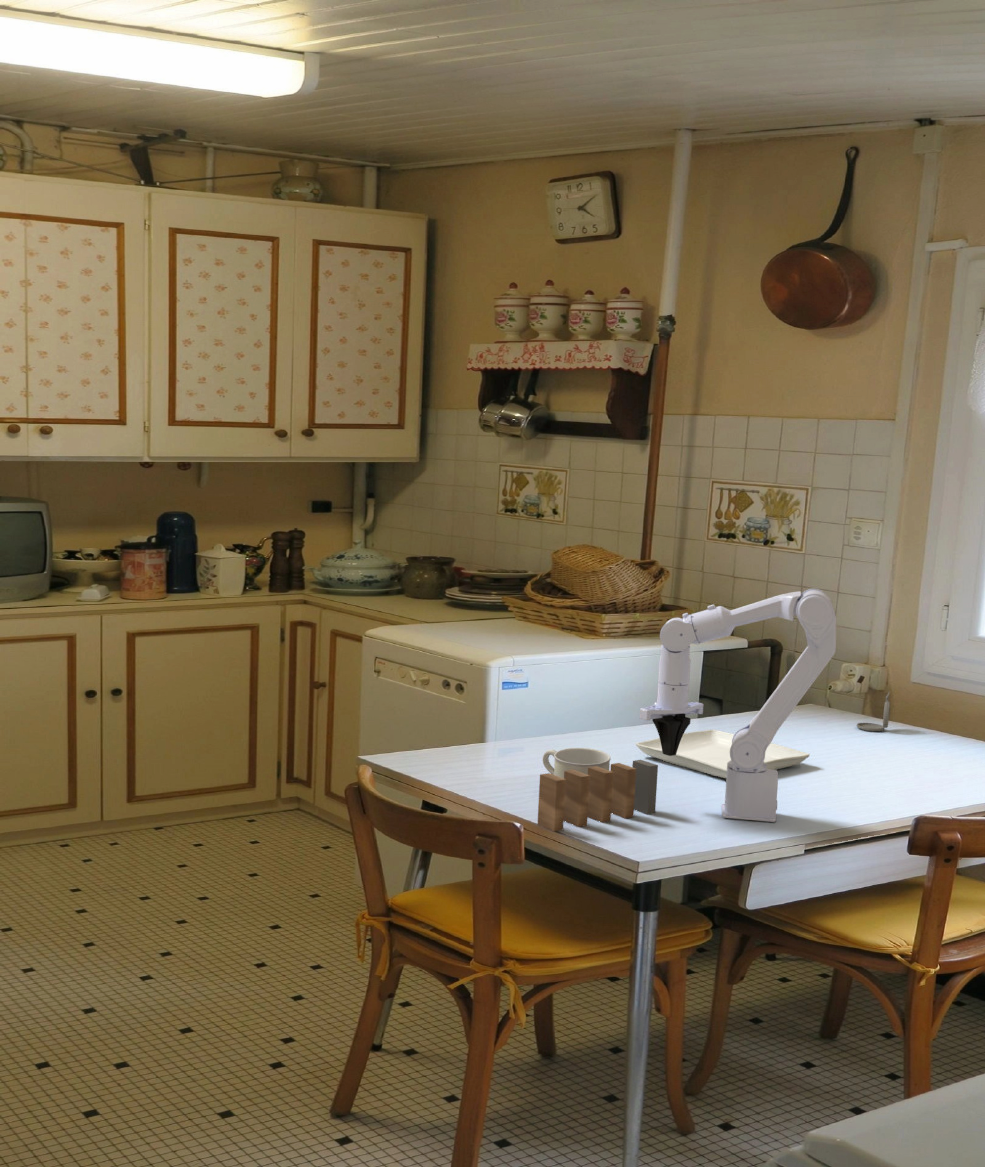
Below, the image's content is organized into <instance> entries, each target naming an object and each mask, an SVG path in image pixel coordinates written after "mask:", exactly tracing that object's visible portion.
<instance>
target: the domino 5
mask: <svg viewBox="0 0 985 1167" xmlns="http://www.w3.org/2000/svg"><path fill="white" fill-rule="evenodd" d="M632 767H633V768H636V779H635V797H634V811H636V810H637V812H639V813H643V814H644V813H645V814H644V815H652V813H653V814H656V807H657V806H656V803H657V789H658V788H657V787H658V786H657V785H658V772H659V769H658V768H659V765H658V764H656V763H653V762H650V761H646V760H643V759H636V760H632Z"/></svg>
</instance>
